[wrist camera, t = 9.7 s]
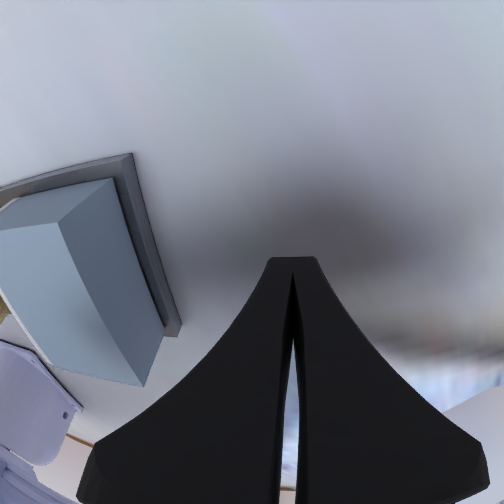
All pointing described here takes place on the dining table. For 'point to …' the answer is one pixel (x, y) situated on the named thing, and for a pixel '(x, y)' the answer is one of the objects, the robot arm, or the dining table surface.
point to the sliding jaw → (79, 282)
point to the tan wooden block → (3, 309)
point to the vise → (133, 214)
